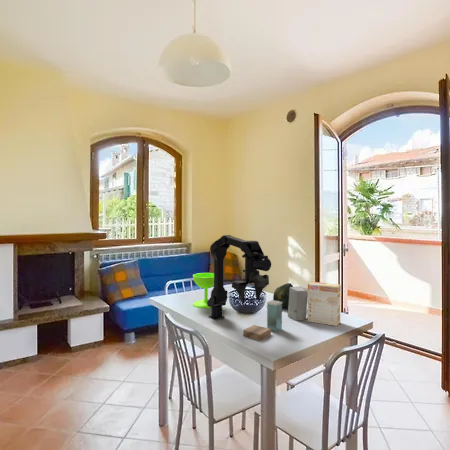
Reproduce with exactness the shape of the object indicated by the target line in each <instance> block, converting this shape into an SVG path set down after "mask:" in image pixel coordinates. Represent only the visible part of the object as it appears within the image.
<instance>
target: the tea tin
mask: <svg viewBox="0 0 450 450" xmlns="http://www.w3.org/2000/svg"><path fill="white" fill-rule="evenodd" d="M266 306H267V307H266V315H267V317H266V328H269V329H271V332H274V333H275V332H280V330H282V329H283V327H282V326H283V325H282V324H283V322H282V321H283V319H282V318H283V308H282V302H280V301H275V300H273V299H272V300H270V301H267V302H266Z"/></svg>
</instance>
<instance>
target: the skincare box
mask: <svg viewBox="0 0 450 450" xmlns="http://www.w3.org/2000/svg"><path fill="white" fill-rule="evenodd" d="M287 309H288V310H287V317H289V318H291V319H292V320H294V321H296V322H298V321H306V320H307V313H308V289H305V288H303V287H300V286H293V287H290V292H289V306H288V307H287Z"/></svg>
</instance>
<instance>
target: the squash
mask: <svg viewBox="0 0 450 450" xmlns="http://www.w3.org/2000/svg"><path fill="white" fill-rule="evenodd" d="M290 287H294V285H293V284H292V282H288V283H285V284H282V285H279V286H278V287H276V288H275V289H274V292H273V295H272V296H273V297H272V300H275V301H280V302H282V309H283V308H288V306H289V292H290Z"/></svg>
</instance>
